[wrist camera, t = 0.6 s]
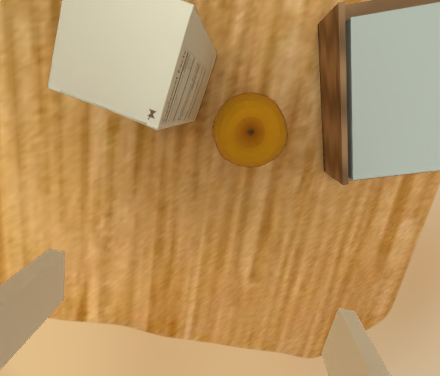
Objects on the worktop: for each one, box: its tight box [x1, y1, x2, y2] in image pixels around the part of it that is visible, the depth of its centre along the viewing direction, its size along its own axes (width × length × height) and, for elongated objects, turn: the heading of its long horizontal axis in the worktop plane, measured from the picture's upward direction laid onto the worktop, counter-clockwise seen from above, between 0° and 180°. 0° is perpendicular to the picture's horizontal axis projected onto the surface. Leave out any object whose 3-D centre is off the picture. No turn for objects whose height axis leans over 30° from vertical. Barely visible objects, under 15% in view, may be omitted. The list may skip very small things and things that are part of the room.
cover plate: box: [345, 2, 440, 180], centre depth 29 cm, size 16×10×2 cm, turn 8°
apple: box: [213, 93, 287, 167], centre depth 33 cm, size 9×8×9 cm
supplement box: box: [48, 0, 217, 130], centre depth 28 cm, size 10×9×17 cm
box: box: [318, 0, 440, 185], centre depth 31 cm, size 18×12×7 cm, turn 8°
